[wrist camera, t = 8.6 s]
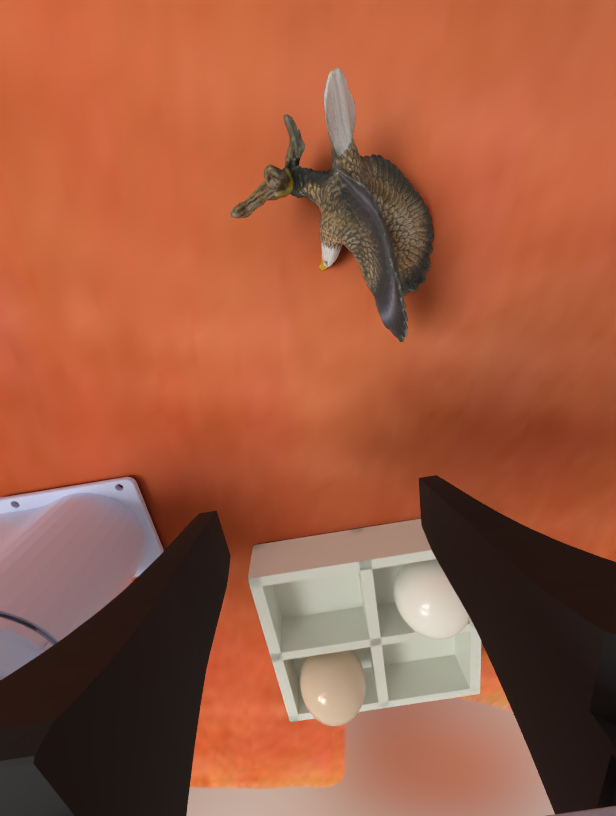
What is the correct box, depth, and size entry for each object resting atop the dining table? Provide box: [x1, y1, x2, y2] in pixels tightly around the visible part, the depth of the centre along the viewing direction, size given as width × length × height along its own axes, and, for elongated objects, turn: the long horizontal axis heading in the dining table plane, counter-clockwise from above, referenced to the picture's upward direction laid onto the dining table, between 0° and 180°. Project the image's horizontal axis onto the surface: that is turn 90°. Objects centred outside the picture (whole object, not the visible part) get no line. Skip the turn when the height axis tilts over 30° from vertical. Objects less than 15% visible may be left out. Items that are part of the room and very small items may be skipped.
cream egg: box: [394, 559, 470, 640], centre depth 23 cm, size 5×5×5 cm
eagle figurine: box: [231, 68, 434, 342], centre depth 15 cm, size 8×7×9 cm
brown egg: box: [300, 650, 366, 726], centre depth 25 cm, size 5×5×5 cm
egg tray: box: [248, 519, 481, 722], centre depth 25 cm, size 15×15×3 cm
